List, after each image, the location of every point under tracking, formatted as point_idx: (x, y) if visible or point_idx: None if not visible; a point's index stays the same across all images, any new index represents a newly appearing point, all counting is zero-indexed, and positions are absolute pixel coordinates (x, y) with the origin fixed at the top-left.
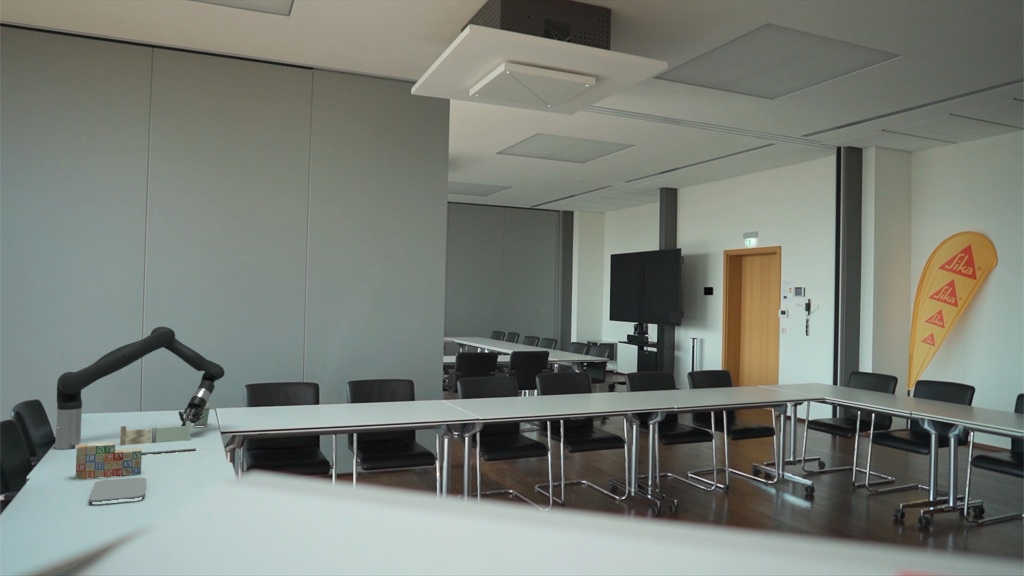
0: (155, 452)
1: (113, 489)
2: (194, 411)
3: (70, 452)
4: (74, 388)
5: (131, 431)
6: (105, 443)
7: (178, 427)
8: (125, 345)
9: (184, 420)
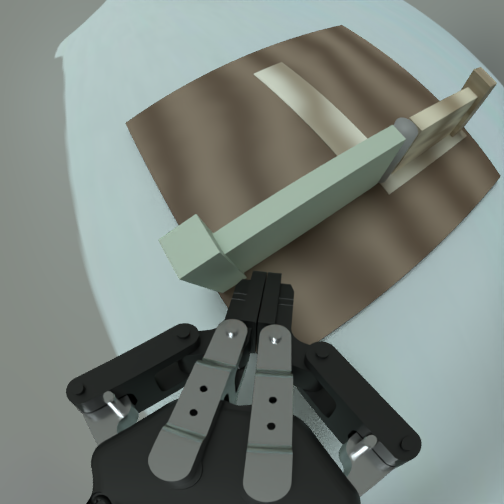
0: (253, 54)
1: None
2: (160, 442)
3: None
4: None
5: (457, 94)
6: None
7: (266, 200)
8: None
9: (273, 330)
